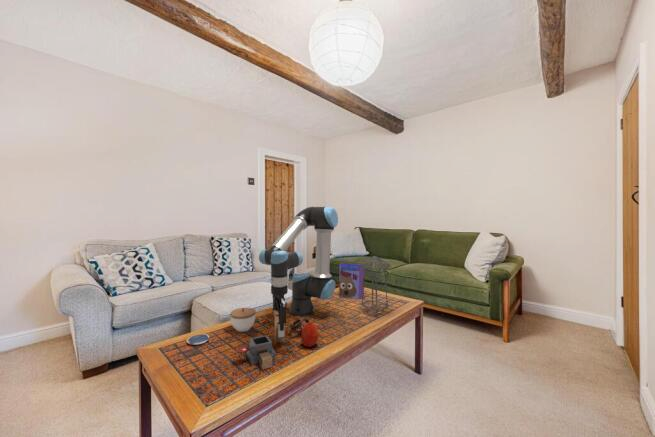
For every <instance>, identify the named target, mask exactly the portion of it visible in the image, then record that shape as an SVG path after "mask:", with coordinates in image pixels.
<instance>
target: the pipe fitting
mask: <svg viewBox="0 0 655 437" xmlns="http://www.w3.org/2000/svg"><path fill="white" fill-rule="evenodd" d="M274 315H275V318H274V342H276V343H282V342H284V341H285V336H284V337H280V338H279V337H278V323H279V313H278V309H275V310H274Z"/></svg>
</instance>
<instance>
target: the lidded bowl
mask: <svg viewBox="0 0 655 437" xmlns="http://www.w3.org/2000/svg"><path fill="white" fill-rule="evenodd" d="M256 313H257V312H256V309H254V308H252V307H239V308H235V309H233V310H231V311H230V314H229V315H230V323H231V326H232V328H233V329H235V331H237V332H239V333H243V332H244V333H245V332H248V331H249V330H251V328H252V327H253V325H255V321H256Z"/></svg>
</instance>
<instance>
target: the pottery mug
mask: <svg viewBox="0 0 655 437" xmlns="http://www.w3.org/2000/svg"><path fill="white" fill-rule="evenodd" d="M308 322H310V320H309V318H308V317H307V318H306V317H305V318H303V319H302V318H298V319H296V320H294V321H293V322H292V323H291V324H289V325H290V326H289V329H290V330H289V331H290V333H295V334H296V333H297V330H301V331H302V329H303V327H304V325H305V324H306V323H308Z"/></svg>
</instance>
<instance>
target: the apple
mask: <svg viewBox="0 0 655 437" xmlns="http://www.w3.org/2000/svg"><path fill="white" fill-rule="evenodd" d="M319 334H320V333H319V331H318V328H317V326H316V324H315V323H313V322H310V321H309V322H308V323H306V324H305V325H304V327H303V326H302V329H301V334H300V337H301V342H302V345H304V346H305V347H307V348H310V347H313V346H315V344H316V343H317V341H318V340H319V336H320V335H319Z"/></svg>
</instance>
